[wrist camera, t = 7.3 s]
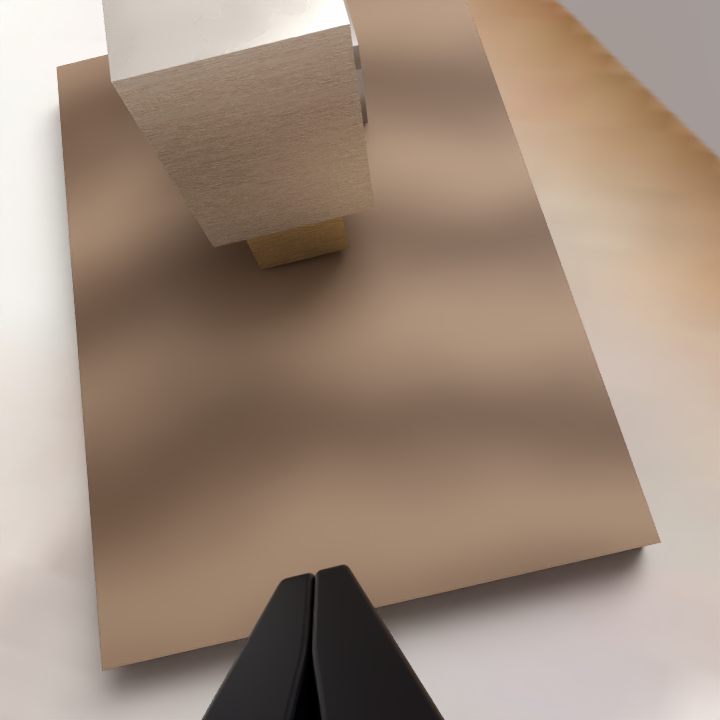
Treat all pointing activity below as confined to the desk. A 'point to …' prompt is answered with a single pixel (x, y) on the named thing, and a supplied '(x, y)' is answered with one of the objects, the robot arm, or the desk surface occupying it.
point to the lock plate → (334, 365)
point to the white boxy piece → (249, 115)
